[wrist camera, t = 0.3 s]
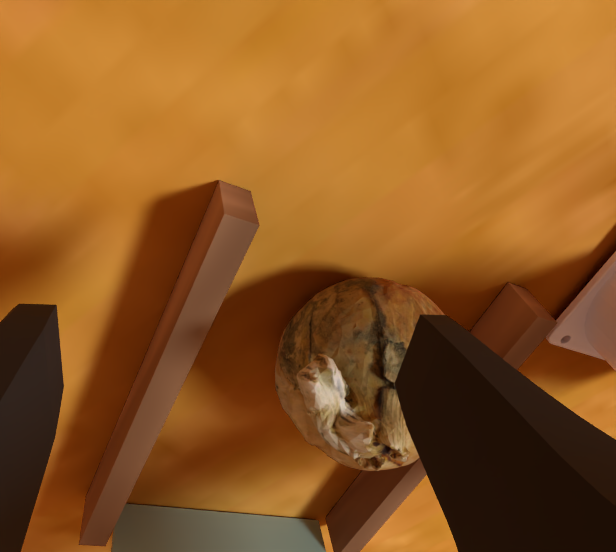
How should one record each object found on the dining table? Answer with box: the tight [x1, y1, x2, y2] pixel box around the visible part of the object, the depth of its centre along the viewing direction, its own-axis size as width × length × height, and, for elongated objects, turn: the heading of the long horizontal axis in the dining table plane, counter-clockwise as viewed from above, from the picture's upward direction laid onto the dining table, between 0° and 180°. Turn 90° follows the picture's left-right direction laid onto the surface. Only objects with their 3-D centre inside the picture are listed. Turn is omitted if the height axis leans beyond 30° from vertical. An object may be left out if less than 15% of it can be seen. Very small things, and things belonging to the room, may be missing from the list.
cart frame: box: [79, 180, 557, 552], centre depth 25 cm, size 15×18×2 cm
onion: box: [275, 278, 445, 471], centre depth 21 cm, size 8×8×8 cm
